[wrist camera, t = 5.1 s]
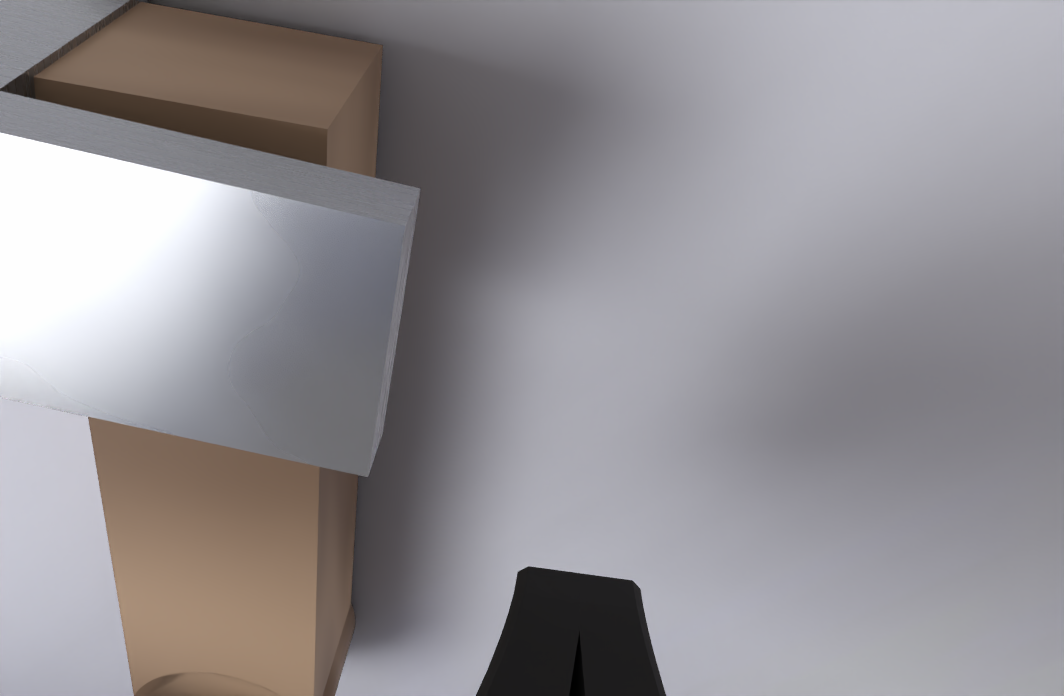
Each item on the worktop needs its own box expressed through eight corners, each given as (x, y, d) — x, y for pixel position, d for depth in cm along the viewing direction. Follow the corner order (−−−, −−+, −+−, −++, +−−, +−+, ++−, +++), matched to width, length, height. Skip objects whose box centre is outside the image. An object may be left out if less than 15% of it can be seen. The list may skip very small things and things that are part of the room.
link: (352, 673, 18) (307, 831, 16) (194, 646, 18) (124, 800, 16) (391, 46, 11) (321, 158, 9) (130, -1, 11) (-14, 98, 9)
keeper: (434, 277, 13) (367, 477, 10) (79, 197, 13) (-105, 375, 10) (471, 65, 11) (405, 226, 8) (61, -33, 11) (-172, 94, 8)
